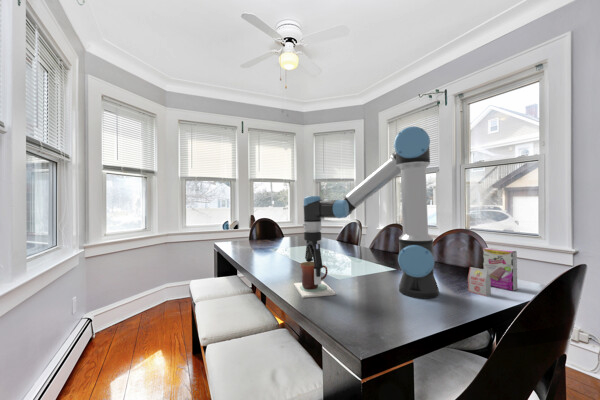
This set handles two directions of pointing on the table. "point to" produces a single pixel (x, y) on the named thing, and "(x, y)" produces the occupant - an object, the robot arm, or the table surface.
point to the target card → (314, 290)
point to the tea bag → (479, 282)
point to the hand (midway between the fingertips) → (313, 279)
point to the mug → (309, 275)
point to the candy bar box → (501, 267)
